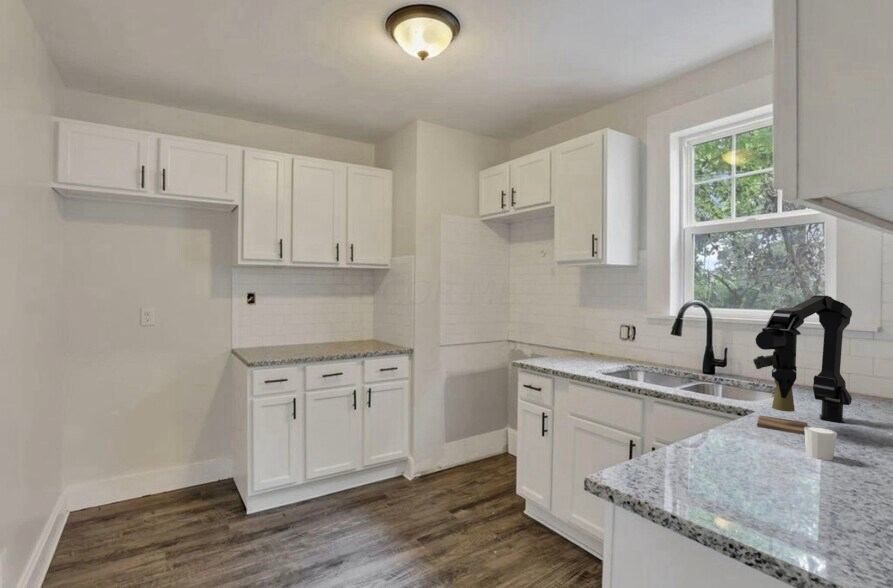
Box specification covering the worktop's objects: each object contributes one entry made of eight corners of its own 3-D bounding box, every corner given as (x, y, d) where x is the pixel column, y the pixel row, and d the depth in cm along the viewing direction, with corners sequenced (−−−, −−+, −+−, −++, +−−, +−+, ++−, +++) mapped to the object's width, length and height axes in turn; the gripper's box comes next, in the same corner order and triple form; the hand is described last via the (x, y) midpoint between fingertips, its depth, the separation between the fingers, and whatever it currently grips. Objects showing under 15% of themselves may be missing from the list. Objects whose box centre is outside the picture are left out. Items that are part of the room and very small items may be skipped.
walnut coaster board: (759, 418, 161) (759, 415, 161) (807, 425, 153) (807, 422, 153) (756, 426, 151) (757, 423, 151) (807, 435, 143) (808, 431, 143)
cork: (787, 407, 155) (788, 373, 154) (799, 412, 149) (800, 377, 148) (767, 406, 155) (768, 373, 155) (778, 411, 149) (780, 376, 149)
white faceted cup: (831, 454, 126) (832, 428, 126) (839, 462, 120) (841, 435, 120) (800, 450, 129) (801, 424, 129) (806, 458, 123) (807, 431, 123)
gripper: (757, 343, 164) (755, 388, 164) (753, 349, 149) (751, 398, 149) (797, 346, 157) (795, 393, 158) (797, 352, 142) (795, 403, 143)
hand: (783, 396), depth 152 cm, fingers closed on cork, 4 cm apart
